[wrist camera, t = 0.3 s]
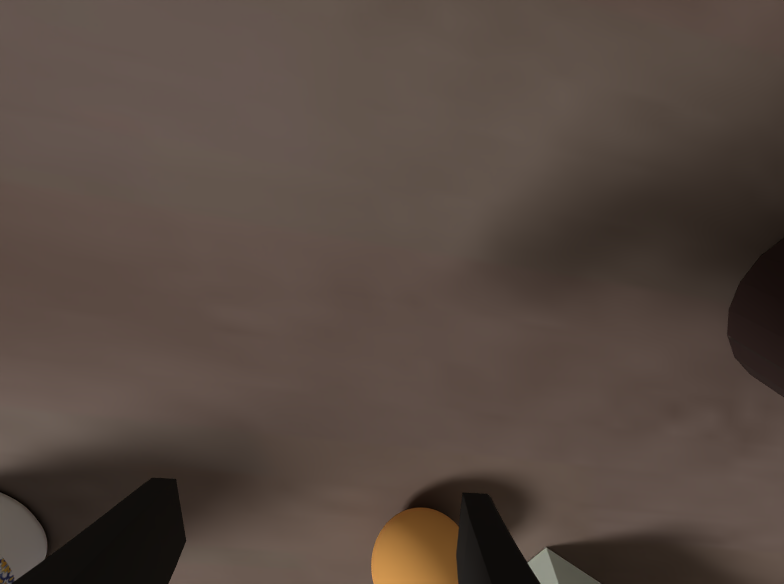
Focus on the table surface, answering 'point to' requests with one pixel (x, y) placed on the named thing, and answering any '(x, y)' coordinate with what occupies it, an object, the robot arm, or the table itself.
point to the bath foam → (19, 540)
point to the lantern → (761, 320)
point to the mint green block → (557, 570)
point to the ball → (416, 549)
